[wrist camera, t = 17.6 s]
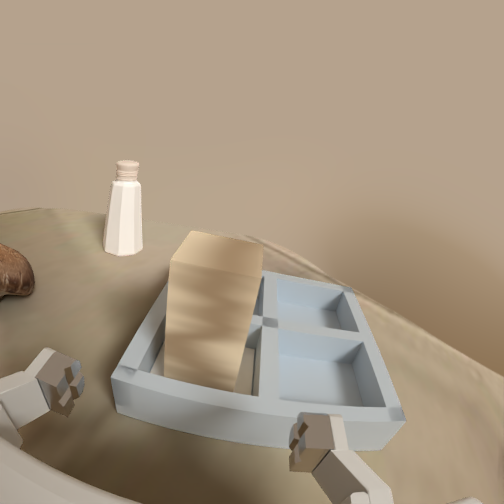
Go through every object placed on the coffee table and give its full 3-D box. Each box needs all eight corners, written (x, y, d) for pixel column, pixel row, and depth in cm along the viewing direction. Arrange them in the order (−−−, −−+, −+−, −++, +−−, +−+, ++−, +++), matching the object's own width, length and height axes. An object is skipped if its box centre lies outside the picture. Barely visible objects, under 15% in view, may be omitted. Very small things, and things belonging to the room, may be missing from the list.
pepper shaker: (97, 254, 34) (100, 163, 29) (107, 237, 38) (112, 157, 34) (139, 258, 35) (147, 167, 31) (145, 241, 40) (153, 160, 36)
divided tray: (117, 412, 16) (110, 377, 14) (181, 283, 32) (185, 254, 31) (380, 450, 16) (406, 420, 15) (340, 314, 32) (351, 287, 31)
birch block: (163, 385, 18) (170, 259, 14) (179, 343, 22) (191, 230, 18) (231, 400, 18) (261, 278, 14) (237, 356, 22) (263, 244, 18)
